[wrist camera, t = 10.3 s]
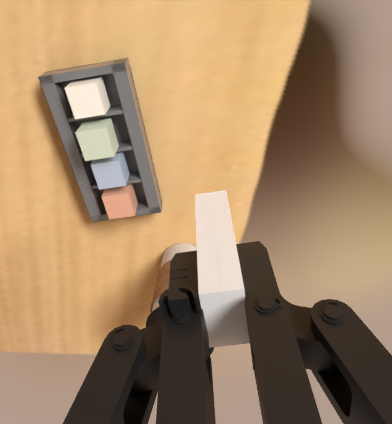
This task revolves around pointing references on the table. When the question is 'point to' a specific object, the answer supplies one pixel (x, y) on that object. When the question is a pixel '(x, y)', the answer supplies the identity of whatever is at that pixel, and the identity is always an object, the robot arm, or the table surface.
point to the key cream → (88, 97)
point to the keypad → (123, 125)
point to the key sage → (97, 139)
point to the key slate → (111, 171)
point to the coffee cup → (166, 281)
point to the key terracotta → (120, 201)
